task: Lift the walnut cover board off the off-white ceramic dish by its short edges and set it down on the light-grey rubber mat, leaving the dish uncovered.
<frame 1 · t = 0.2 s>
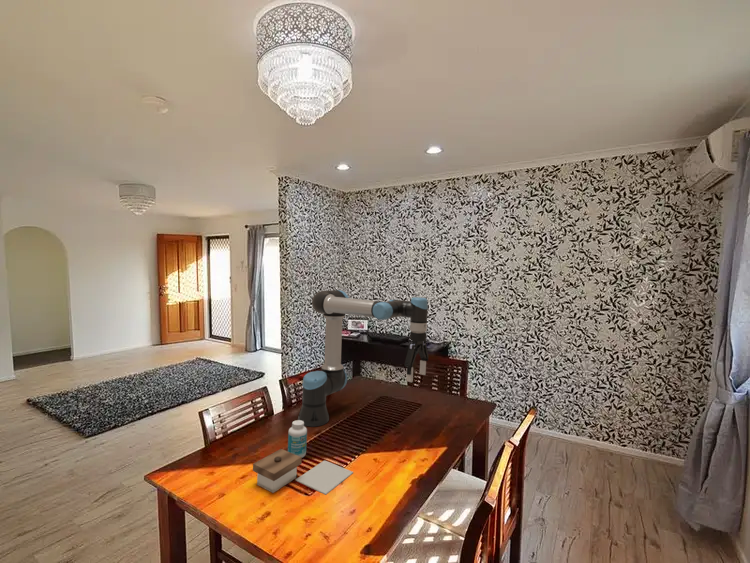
hand: (416, 377, 164), 28 cm above the table, fingers open, 13 cm apart
cover: (277, 467, 128), point 5 cm above the table, touching dish
pill bottle: (296, 455, 146), on the table
mat: (325, 476, 132), on the table
dish: (277, 481, 128), on the table
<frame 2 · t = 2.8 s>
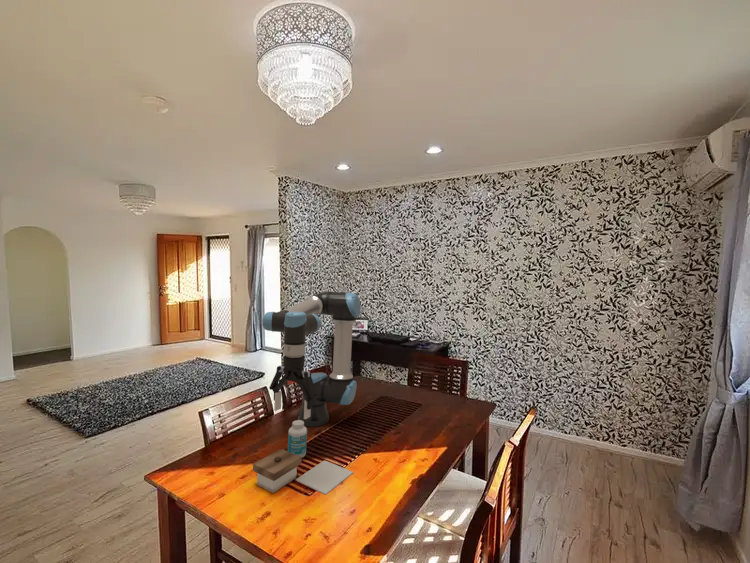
hand: (292, 413, 130), 24 cm above the table, fingers open, 13 cm apart
nothing on the table moved.
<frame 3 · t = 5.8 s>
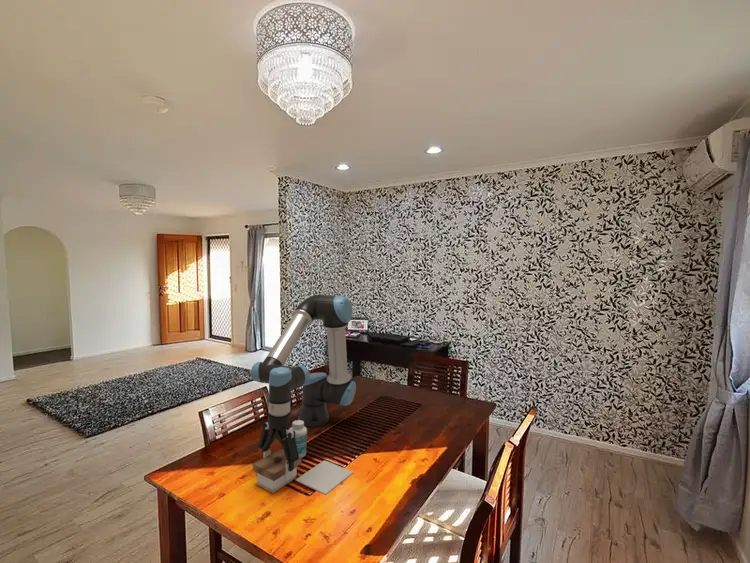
hand: (277, 473, 128), 3 cm above the table, fingers closed on cover, 10 cm apart
cover: (277, 467, 128), point 5 cm above the table, touching dish, gripper
everything else where it was.
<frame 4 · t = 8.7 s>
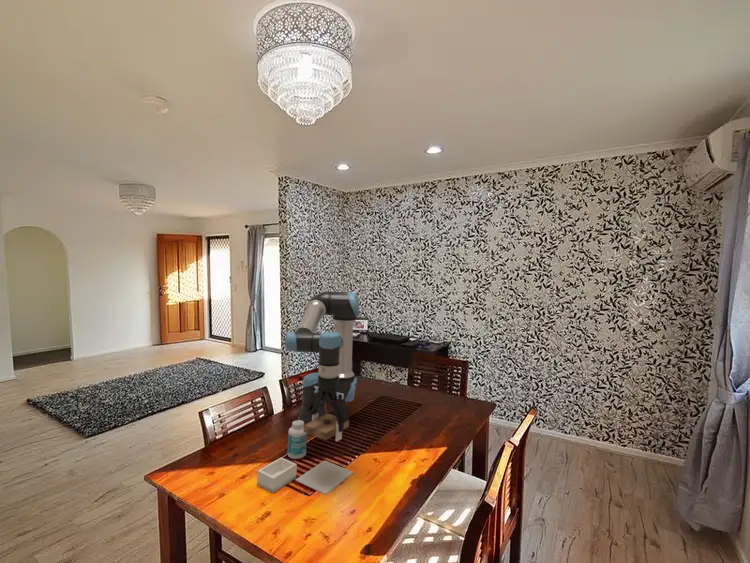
hand: (326, 435, 131), 15 cm above the table, fingers closed on cover, 10 cm apart
cover: (326, 429, 131), point 18 cm above the table, touching gripper
everything else where it was.
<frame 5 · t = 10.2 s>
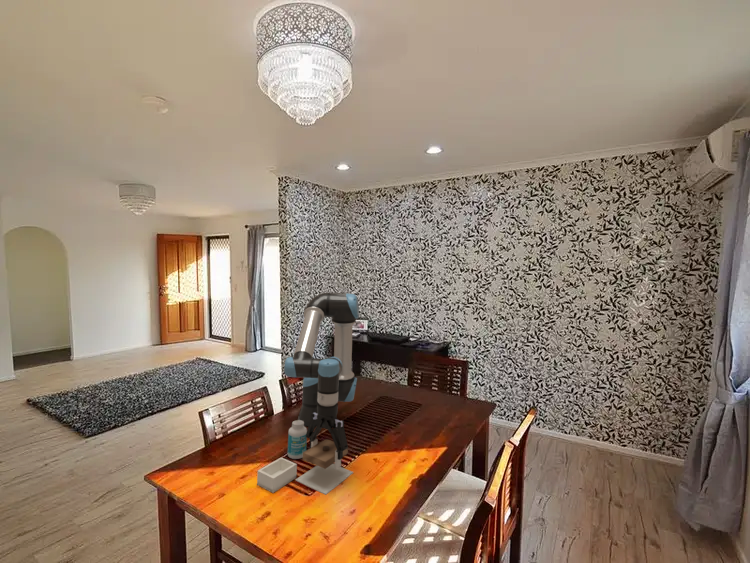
hand: (325, 462, 132), 5 cm above the table, fingers closed on cover, 10 cm apart
cover: (325, 456, 132), point 8 cm above the table, touching gripper
everything else where it was.
when the fingers open (1 cm above the table, at t = 11.7 s): cover drops 3 cm, resting on mat.
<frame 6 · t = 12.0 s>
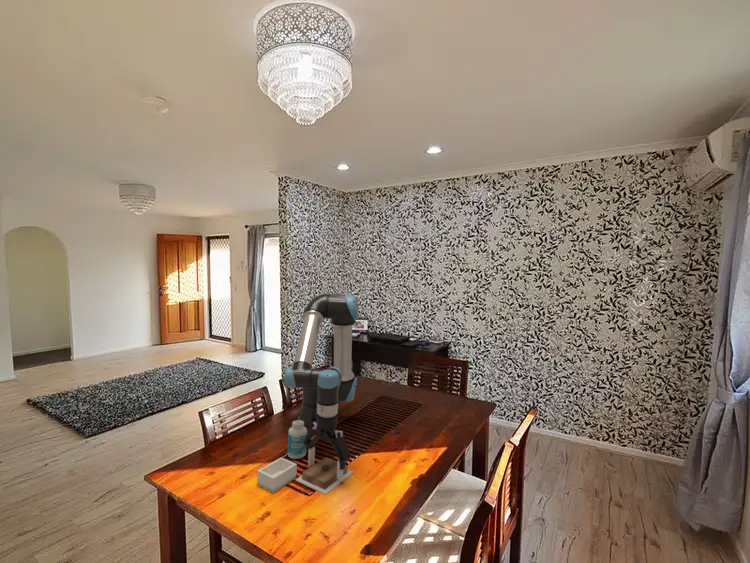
hand: (325, 471, 132), 2 cm above the table, fingers open, 13 cm apart
cover: (325, 475, 132), resting on mat
everything else where it was.
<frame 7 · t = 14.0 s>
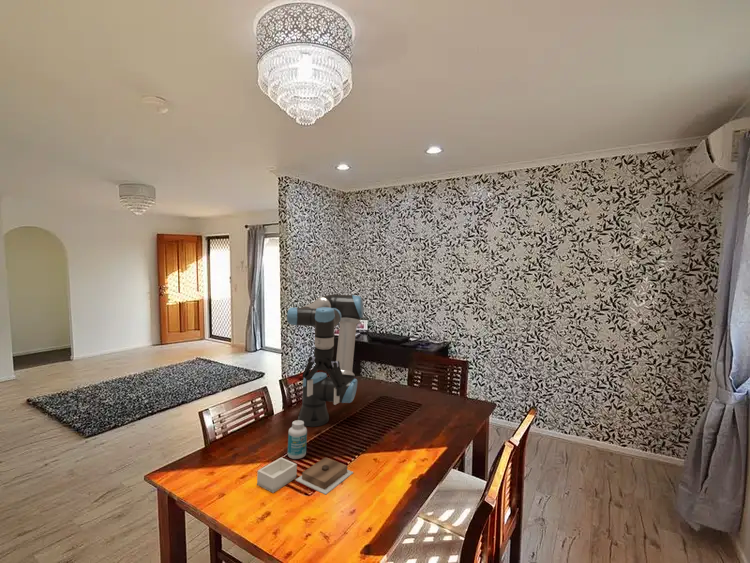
hand: (322, 399, 144), 24 cm above the table, fingers open, 13 cm apart
nothing on the table moved.
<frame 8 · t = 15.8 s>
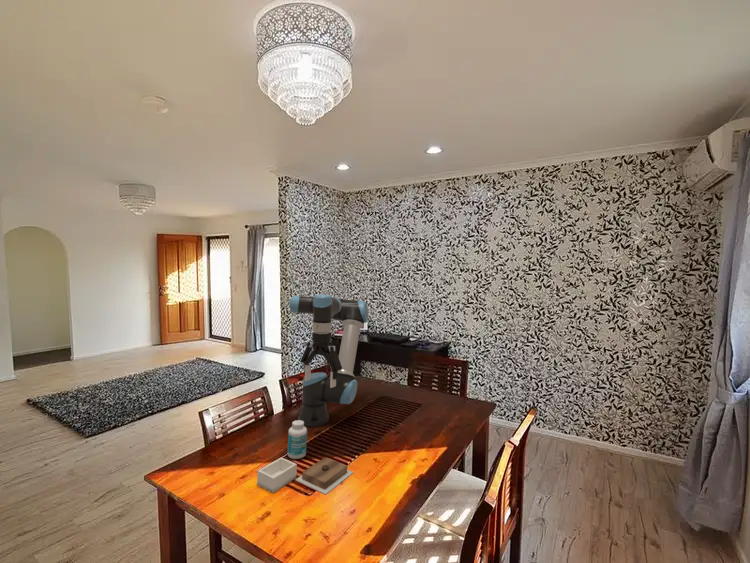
hand: (320, 383, 149), 29 cm above the table, fingers open, 13 cm apart
nothing on the table moved.
at the end: cover inside the target area on the mat (0.0 cm from its centre), point 0.4 cm above the mat's base; cover touching mat; cover tilted 0° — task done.
